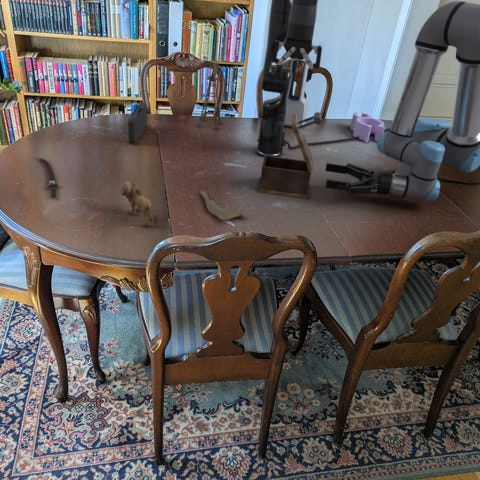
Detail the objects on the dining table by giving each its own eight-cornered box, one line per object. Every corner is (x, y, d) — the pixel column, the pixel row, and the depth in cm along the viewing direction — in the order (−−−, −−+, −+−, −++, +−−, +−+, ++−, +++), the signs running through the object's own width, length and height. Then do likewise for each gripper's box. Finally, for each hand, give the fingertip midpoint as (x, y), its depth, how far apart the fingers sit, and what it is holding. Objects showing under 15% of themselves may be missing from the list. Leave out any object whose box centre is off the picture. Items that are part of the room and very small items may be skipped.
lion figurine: (118, 210, 138) (116, 182, 133) (132, 204, 141) (131, 177, 137) (151, 229, 130) (150, 201, 126) (165, 223, 134) (165, 195, 129)
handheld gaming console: (140, 124, 200) (139, 101, 194) (146, 125, 200) (146, 101, 194) (127, 143, 180) (126, 118, 175) (135, 144, 180) (134, 119, 175)
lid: (291, 124, 144) (318, 114, 141) (292, 114, 152) (317, 104, 149) (309, 172, 151) (335, 163, 148) (309, 160, 160) (334, 151, 157)
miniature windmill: (216, 129, 203) (221, 57, 187) (197, 126, 204) (200, 54, 188) (221, 123, 211) (226, 53, 194) (203, 120, 212) (206, 50, 195)
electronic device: (305, 125, 218) (316, 58, 202) (301, 130, 212) (313, 61, 196) (279, 120, 221) (289, 53, 205) (275, 124, 215) (284, 56, 199)
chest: (259, 191, 157) (262, 166, 152) (261, 178, 166) (264, 155, 161) (306, 197, 156) (310, 173, 151) (306, 184, 165) (310, 161, 160)
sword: (61, 197, 141) (61, 193, 140) (50, 198, 139) (50, 194, 139) (49, 160, 164) (48, 156, 163) (39, 160, 163) (39, 157, 162)
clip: (343, 126, 223) (346, 112, 219) (367, 127, 225) (371, 113, 221) (360, 142, 206) (364, 127, 202) (386, 142, 209) (390, 127, 205)
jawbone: (230, 228, 136) (231, 222, 135) (181, 203, 146) (181, 197, 145) (250, 215, 142) (250, 210, 140) (201, 192, 152) (201, 187, 151)
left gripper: (276, 20, 130) (269, 79, 139) (327, 26, 129) (316, 85, 138) (277, 16, 136) (270, 74, 145) (326, 22, 135) (316, 79, 144)
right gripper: (391, 212, 147) (323, 201, 148) (382, 179, 168) (323, 170, 169) (397, 190, 143) (328, 180, 144) (388, 159, 164) (327, 151, 165)
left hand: (293, 79), depth 141 cm, fingers open, 8 cm apart
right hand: (325, 175), depth 157 cm, fingers open, 13 cm apart
